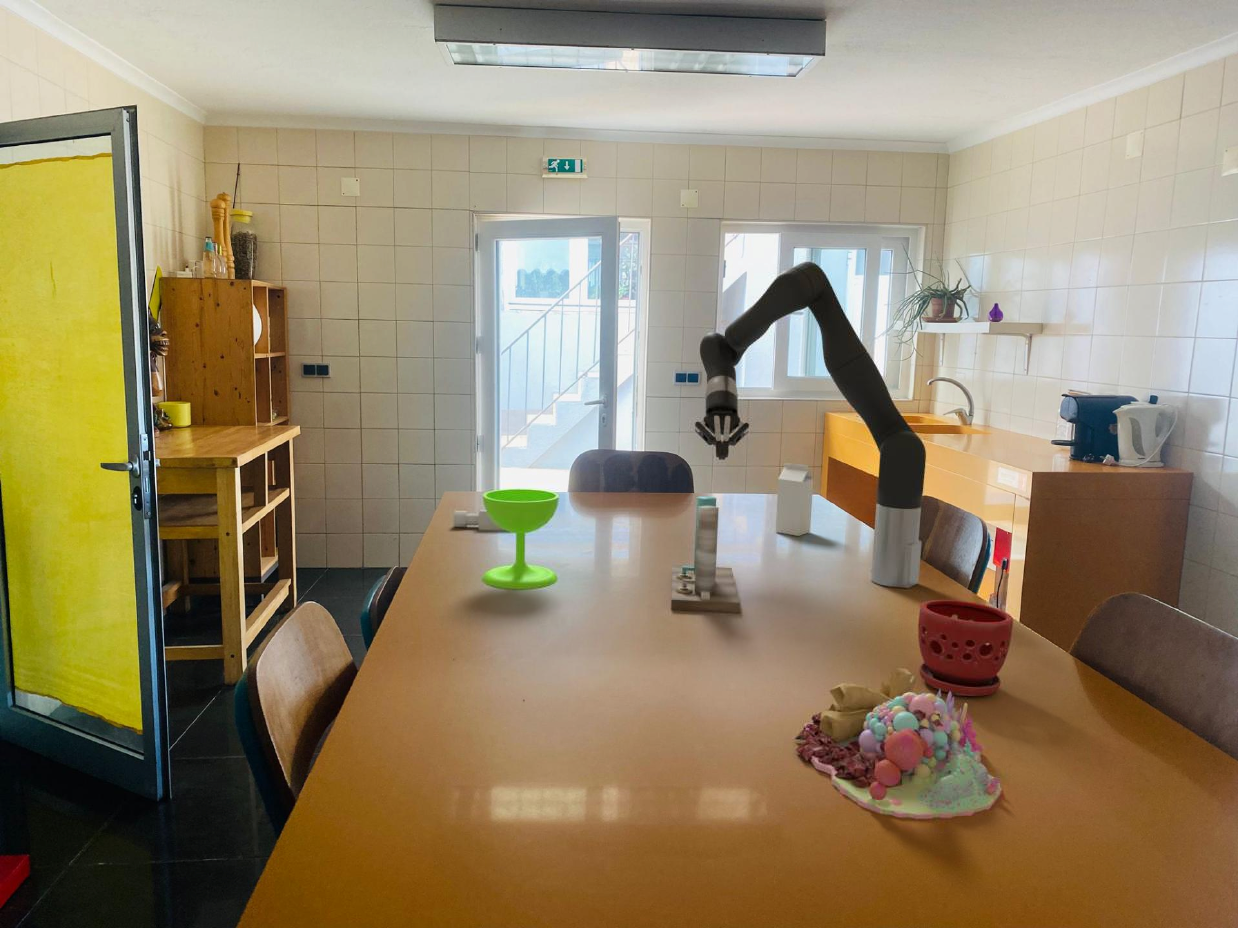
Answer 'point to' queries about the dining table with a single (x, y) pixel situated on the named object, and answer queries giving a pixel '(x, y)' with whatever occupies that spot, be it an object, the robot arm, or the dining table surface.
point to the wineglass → (520, 534)
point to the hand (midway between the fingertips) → (722, 457)
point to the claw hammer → (475, 520)
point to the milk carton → (794, 500)
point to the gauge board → (715, 601)
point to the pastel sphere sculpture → (900, 751)
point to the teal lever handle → (700, 502)
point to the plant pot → (963, 646)
